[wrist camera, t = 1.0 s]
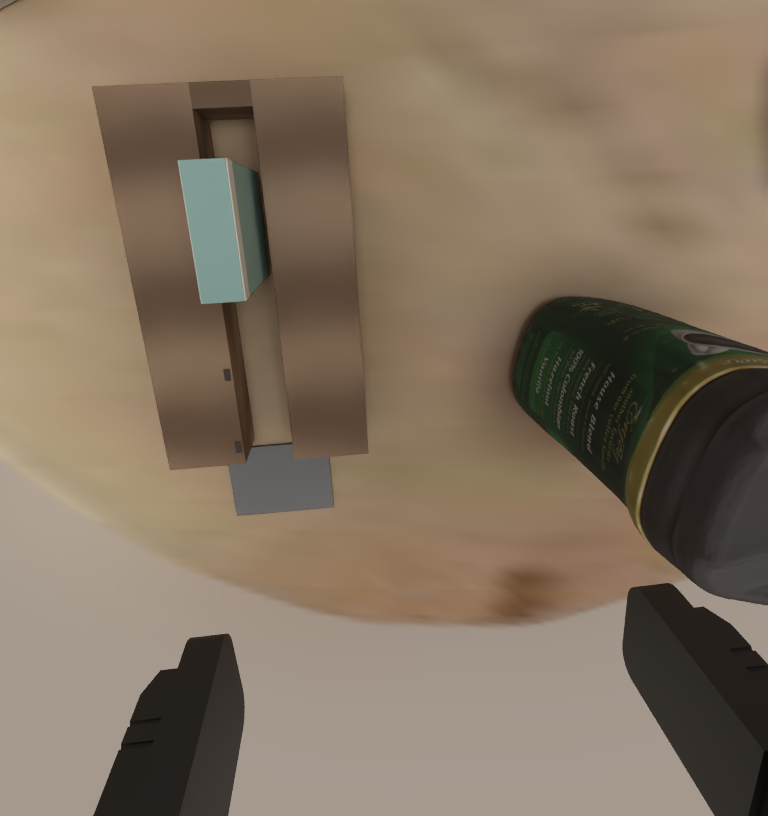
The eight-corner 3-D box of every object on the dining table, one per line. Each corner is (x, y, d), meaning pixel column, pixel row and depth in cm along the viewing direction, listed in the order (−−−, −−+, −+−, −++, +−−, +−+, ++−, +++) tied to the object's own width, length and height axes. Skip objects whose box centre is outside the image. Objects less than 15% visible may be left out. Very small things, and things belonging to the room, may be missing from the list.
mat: (226, 448, 33) (226, 449, 33) (327, 440, 34) (327, 441, 34) (237, 514, 35) (237, 515, 35) (333, 505, 35) (333, 507, 35)
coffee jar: (495, 412, 34) (664, 627, 17) (532, 283, 32) (776, 376, 14) (639, 436, 36) (934, 658, 18) (685, 314, 33) (1079, 435, 16)
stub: (224, 174, 28) (176, 160, 19) (258, 172, 28) (226, 157, 20) (238, 276, 30) (200, 304, 21) (270, 274, 30) (245, 301, 21)
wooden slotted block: (121, 101, 27) (90, 85, 24) (341, 91, 28) (342, 75, 24) (186, 443, 33) (169, 470, 30) (364, 429, 34) (368, 454, 30)
